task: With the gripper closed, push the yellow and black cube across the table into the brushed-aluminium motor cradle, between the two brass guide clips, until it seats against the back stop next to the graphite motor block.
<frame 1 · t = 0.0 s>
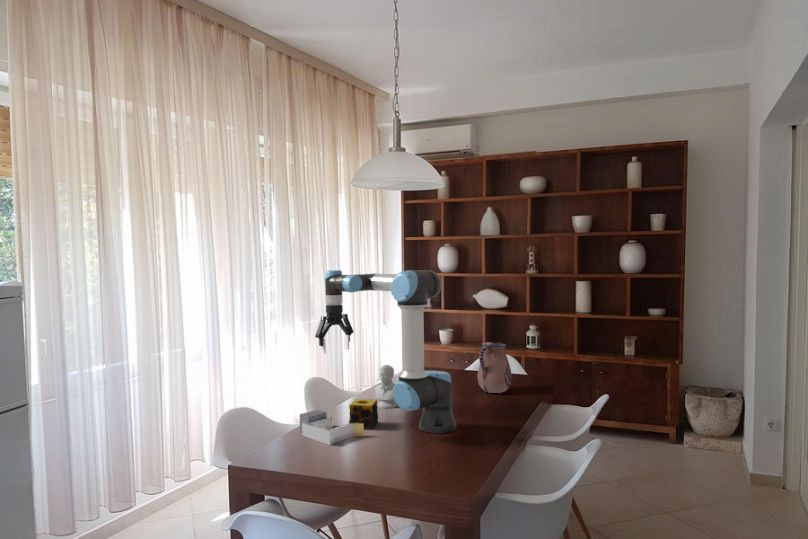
hand: (335, 351, 253), 28 cm above the table, fingers open, 13 cm apart
figurine: (387, 406, 264), on the table
ceramic pitcher: (493, 393, 285), on the table
yellow and black cube: (364, 426, 233), on the table
motor cradle: (327, 436, 219), on the table
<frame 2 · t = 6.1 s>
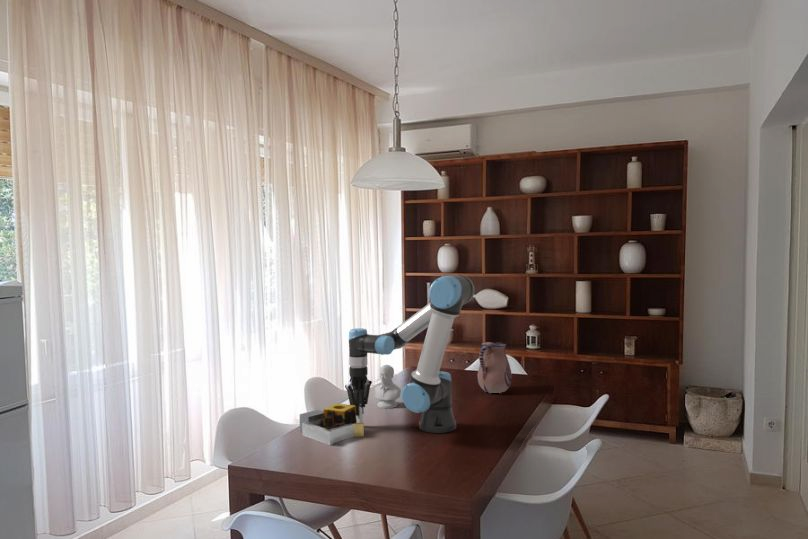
hand: (359, 422, 232), 2 cm above the table, fingers closed
yellow and black cube: (340, 432, 225), on the table
everything else where it was.
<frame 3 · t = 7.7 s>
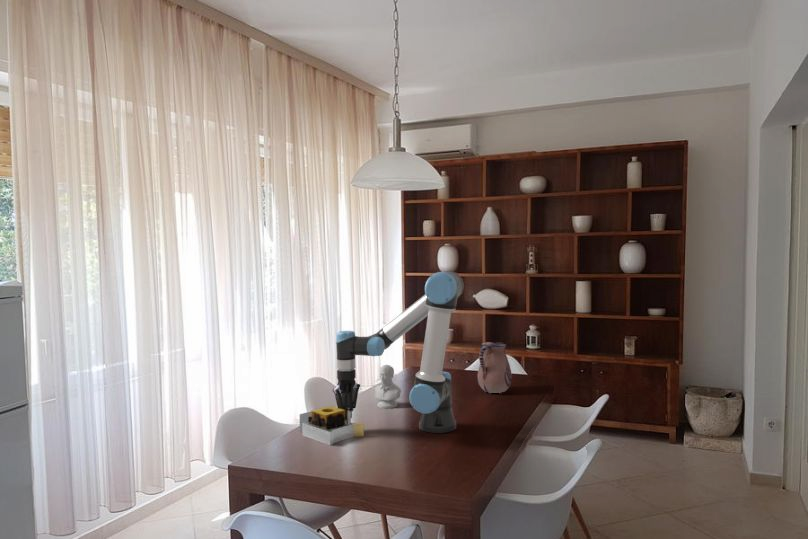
hand: (347, 426, 227), 1 cm above the table, fingers closed
yellow and black cube: (328, 435, 221), on the table, touching hand
everything else where it was.
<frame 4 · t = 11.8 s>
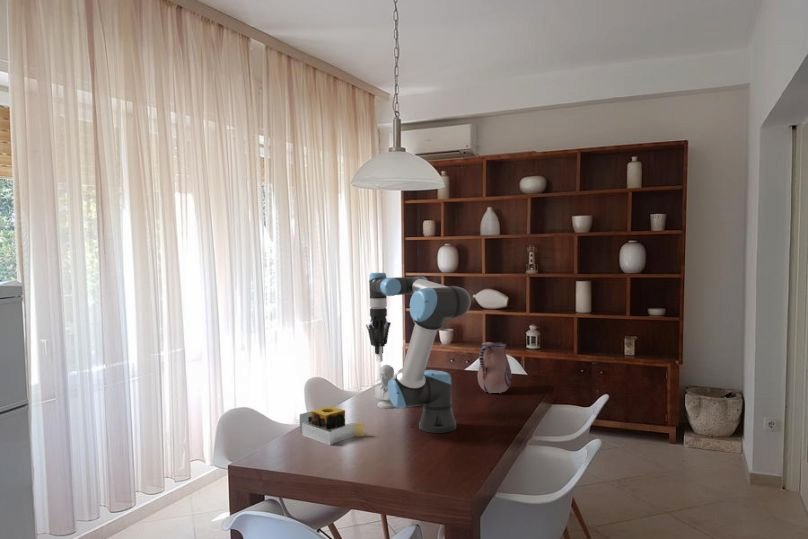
hand: (379, 361, 246), 24 cm above the table, fingers closed
yellow and black cube: (328, 436, 221), on the table
everything else where it was.
at the end: yellow and black cube inside the target area (1.1 cm from its centre), on the table; yellow and black cube tilted 0° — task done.
